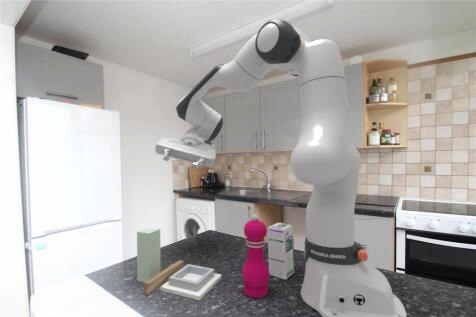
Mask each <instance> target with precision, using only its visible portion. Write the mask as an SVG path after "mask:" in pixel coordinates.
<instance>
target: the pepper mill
mask: <svg viewBox="0 0 476 317" xmlns="http://www.w3.org/2000/svg"><path fill="white" fill-rule="evenodd" d="M259 218H260V217H259V215H258V214H252V216H251V220H249V221H247V222H246V223H245V225H244V226H243V234H244V236H245V237H246V239H245V245H246V247H247V257H246V260H245V263H244V264H243V267H242V272H241V278H242V280H243V282H244V284H243V292H244V294H245V295H246V296H247V297H250V298H255V299H259V298H263V297H265V296H266V295H267V294H269V284H268V281H270V278H271V275H270V273H269V265H268V263H267V262H266V260H265V255H264V247H265V245H266V239H265V237H266V236H267V235H268V227H267V225H266V224H265V223H264V222H263V221H262V220H259Z"/></svg>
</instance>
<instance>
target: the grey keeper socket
mask: <svg viewBox="0 0 476 317" xmlns="http://www.w3.org/2000/svg"><path fill="white" fill-rule="evenodd" d="M222 278H223V277H222V274H220V273H215V268H210V267H205V266H200V265H195V264H189V263H188V264H186V265H185V266H184V267H183V268H182V269H180V270H179V271H178V272H176V273H175V274H173V275H172V276H170V277H169V281H168V282H166V283H165V284H164V285H162V286H161V287H160V288H159V290H160V291H161V292H164V293H168V294H172V295H177V296H179V297H184V298H189V299H192V300H196V301H200V300H202V299H203V297H204V296H206V295H207V294H208V293H209V291H210V290H212V289H213V287H215V285H217V284H218V282H219V281H220V280H221V279H222Z"/></svg>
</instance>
